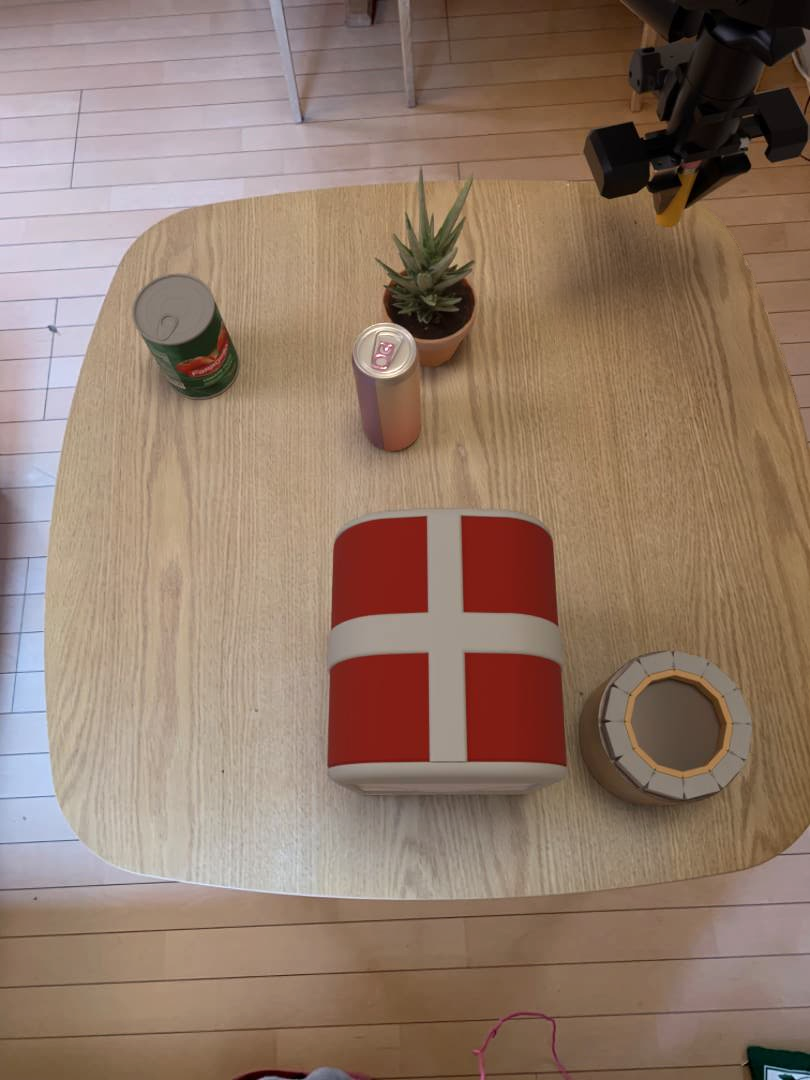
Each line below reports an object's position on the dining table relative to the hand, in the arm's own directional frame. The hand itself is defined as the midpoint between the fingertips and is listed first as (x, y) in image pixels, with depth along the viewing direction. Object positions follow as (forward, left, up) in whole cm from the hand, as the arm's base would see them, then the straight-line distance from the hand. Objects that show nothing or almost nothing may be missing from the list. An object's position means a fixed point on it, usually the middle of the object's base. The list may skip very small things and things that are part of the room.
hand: (670, 208), depth 83 cm
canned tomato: (+49, -1, -11) cm, 50 cm away
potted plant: (+25, +2, -11) cm, 27 cm away
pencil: (0, 0, -1) cm, 1 cm away
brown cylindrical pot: (+16, +47, -11) cm, 51 cm away
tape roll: (+16, +47, -1) cm, 50 cm away
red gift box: (+33, +39, -11) cm, 52 cm away
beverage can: (+31, +11, -11) cm, 35 cm away
